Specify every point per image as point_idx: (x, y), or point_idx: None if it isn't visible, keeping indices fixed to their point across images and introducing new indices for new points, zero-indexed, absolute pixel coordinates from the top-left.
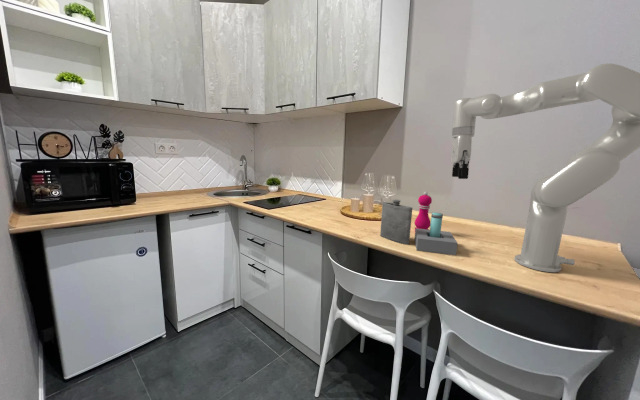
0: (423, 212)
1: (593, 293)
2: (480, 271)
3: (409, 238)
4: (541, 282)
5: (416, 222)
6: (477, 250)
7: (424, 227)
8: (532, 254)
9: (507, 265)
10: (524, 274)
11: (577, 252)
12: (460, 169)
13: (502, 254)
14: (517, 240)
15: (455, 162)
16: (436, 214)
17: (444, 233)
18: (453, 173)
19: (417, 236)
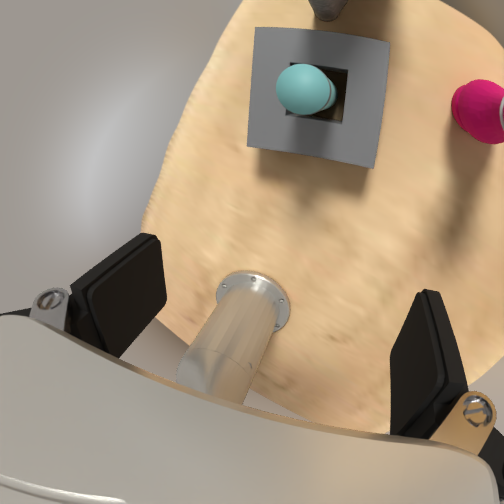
0: (495, 105)
1: (167, 300)
2: (179, 166)
3: (321, 15)
4: (173, 255)
5: (477, 80)
6: (317, 221)
7: (458, 107)
8: (224, 298)
9: (230, 241)
10: (195, 248)
11: (334, 400)
12: (86, 289)
13: (299, 270)
14: None
15: (55, 327)
16: (283, 80)
17: (347, 137)
18: (423, 318)
19: (277, 27)
